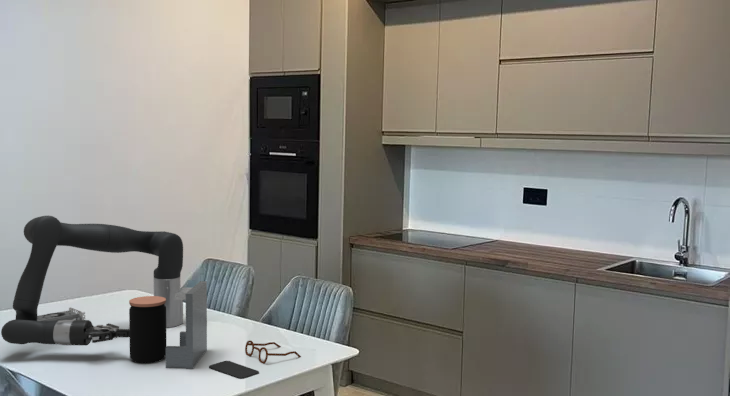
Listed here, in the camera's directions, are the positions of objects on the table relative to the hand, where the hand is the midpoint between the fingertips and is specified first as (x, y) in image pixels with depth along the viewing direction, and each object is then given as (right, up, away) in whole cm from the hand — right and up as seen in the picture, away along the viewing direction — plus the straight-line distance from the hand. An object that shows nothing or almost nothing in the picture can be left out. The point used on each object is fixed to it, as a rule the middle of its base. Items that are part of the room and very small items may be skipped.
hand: (130, 333), depth 207 cm
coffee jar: (+5, -8, 0) cm, 9 cm away
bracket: (+17, -8, +1) cm, 19 cm away
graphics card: (-41, -4, +42) cm, 59 cm away
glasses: (+42, -9, +6) cm, 43 cm away
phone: (+33, -9, -9) cm, 35 cm away
